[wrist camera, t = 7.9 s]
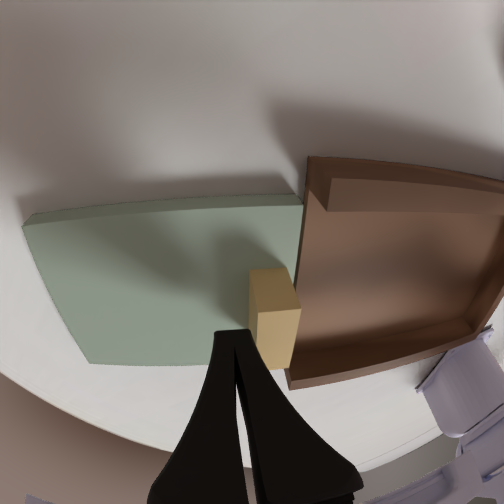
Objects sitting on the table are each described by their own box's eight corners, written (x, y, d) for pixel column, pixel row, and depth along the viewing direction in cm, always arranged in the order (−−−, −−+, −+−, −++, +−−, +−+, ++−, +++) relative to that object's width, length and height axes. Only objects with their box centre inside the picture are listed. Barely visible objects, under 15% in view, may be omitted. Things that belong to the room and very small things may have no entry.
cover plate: (276, 338, 18) (289, 394, 14) (94, 344, 16) (81, 396, 13) (292, 189, 12) (325, 240, 9) (37, 209, 11) (-7, 260, 7)
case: (461, 319, 20) (475, 339, 18) (281, 358, 18) (289, 390, 16) (521, 185, 13) (545, 202, 11) (308, 156, 11) (331, 178, 9)
